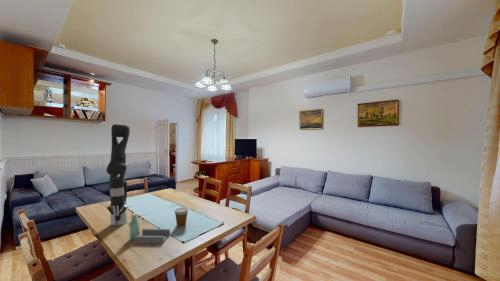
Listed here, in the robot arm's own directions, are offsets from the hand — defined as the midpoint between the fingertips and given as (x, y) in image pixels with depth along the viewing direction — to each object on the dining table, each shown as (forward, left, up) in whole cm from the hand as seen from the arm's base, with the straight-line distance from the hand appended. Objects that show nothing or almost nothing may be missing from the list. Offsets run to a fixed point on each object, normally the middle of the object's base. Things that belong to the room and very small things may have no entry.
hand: (117, 220), depth 128 cm
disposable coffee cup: (+35, +19, -12) cm, 41 cm away
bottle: (+11, 0, -12) cm, 16 cm away
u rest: (+23, 0, -12) cm, 26 cm away
